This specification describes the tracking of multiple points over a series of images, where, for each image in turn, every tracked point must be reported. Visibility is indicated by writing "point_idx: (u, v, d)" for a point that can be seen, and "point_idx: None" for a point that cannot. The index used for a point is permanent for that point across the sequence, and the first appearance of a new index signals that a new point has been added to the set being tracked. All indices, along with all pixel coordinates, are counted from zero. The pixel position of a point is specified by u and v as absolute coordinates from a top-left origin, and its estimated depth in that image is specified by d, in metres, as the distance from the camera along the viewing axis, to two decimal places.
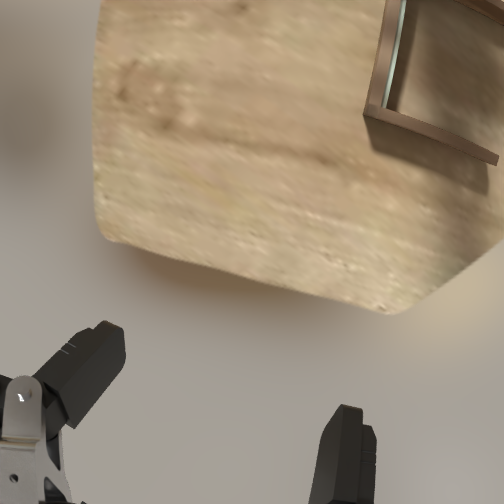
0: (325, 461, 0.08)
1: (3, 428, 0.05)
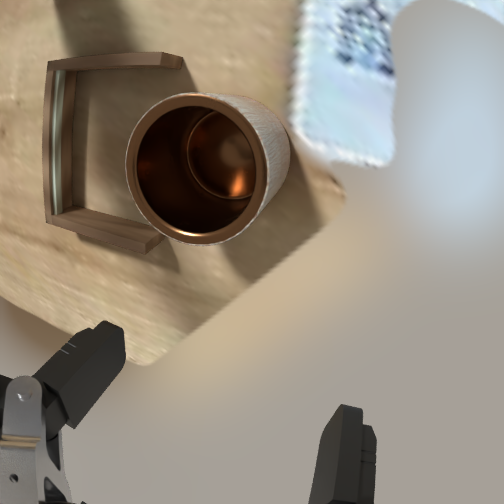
0: (325, 461, 0.08)
1: (3, 428, 0.05)
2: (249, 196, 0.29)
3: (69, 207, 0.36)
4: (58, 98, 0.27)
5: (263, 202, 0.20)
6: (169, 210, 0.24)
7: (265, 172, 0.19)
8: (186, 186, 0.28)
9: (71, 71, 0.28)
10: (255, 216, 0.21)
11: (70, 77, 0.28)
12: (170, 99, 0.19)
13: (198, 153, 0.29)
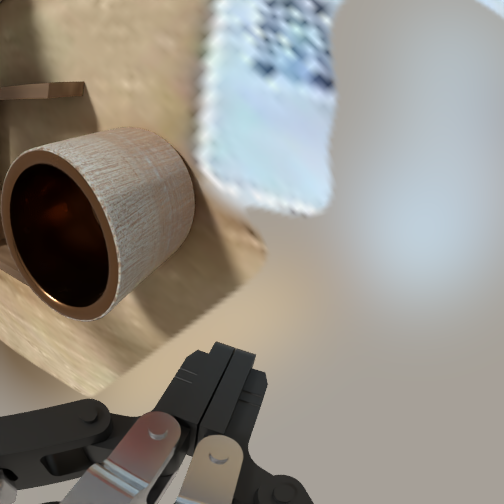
0: None
1: (112, 453, 0.06)
2: None
3: (2, 240, 0.30)
4: None
5: (119, 285, 0.15)
6: (51, 273, 0.19)
7: (114, 251, 0.14)
8: (84, 236, 0.23)
9: None
10: (114, 299, 0.16)
11: None
12: (22, 156, 0.14)
13: None
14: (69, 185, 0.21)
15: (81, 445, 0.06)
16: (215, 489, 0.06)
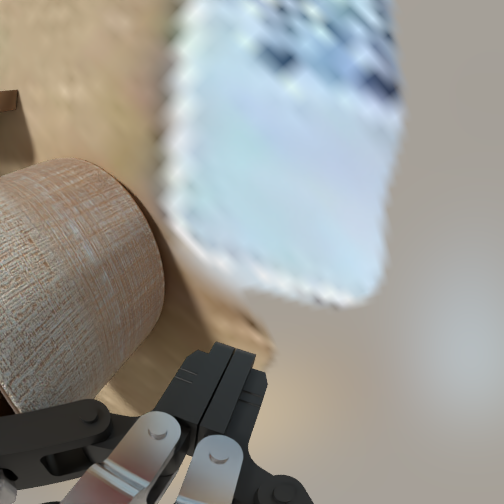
0: None
1: (112, 454, 0.06)
2: None
3: None
4: None
5: None
6: None
7: (17, 412, 0.06)
8: None
9: None
10: None
11: None
12: None
13: None
14: None
15: (81, 445, 0.06)
16: (215, 489, 0.06)
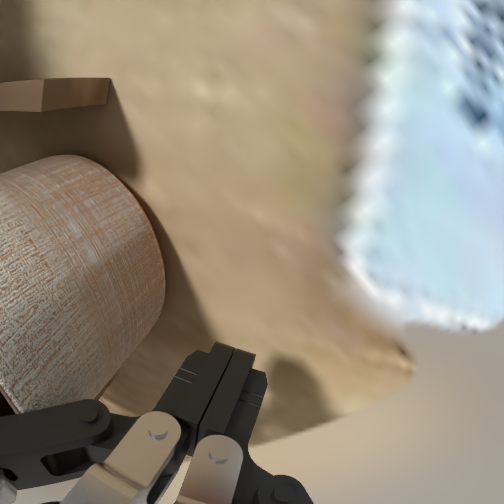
0: None
1: (112, 454, 0.06)
2: None
3: None
4: None
5: None
6: None
7: None
8: None
9: None
10: None
11: None
12: None
13: None
14: None
15: (81, 445, 0.06)
16: (215, 489, 0.06)
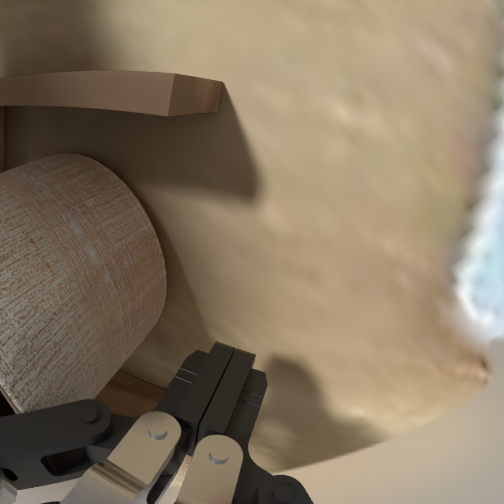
0: None
1: (112, 454, 0.06)
2: None
3: None
4: None
5: None
6: None
7: None
8: None
9: None
10: None
11: None
12: None
13: None
14: None
15: (81, 445, 0.06)
16: (215, 489, 0.06)
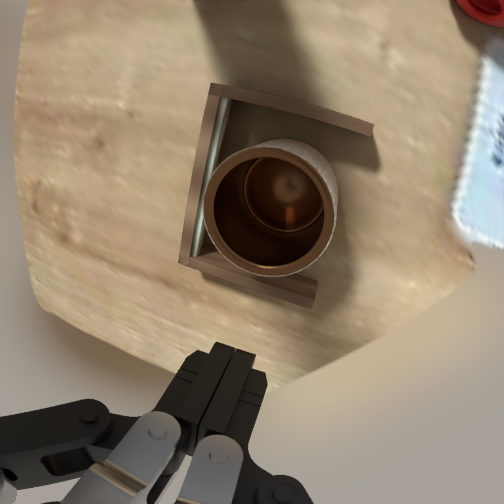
0: None
1: (112, 453, 0.06)
2: (297, 230, 0.34)
3: (202, 247, 0.37)
4: (220, 130, 0.29)
5: (326, 247, 0.25)
6: (236, 241, 0.28)
7: (332, 224, 0.24)
8: (244, 217, 0.32)
9: None
10: (317, 258, 0.25)
11: None
12: (256, 149, 0.23)
13: (256, 187, 0.33)
14: (240, 175, 0.31)
15: (81, 445, 0.06)
16: (215, 489, 0.06)
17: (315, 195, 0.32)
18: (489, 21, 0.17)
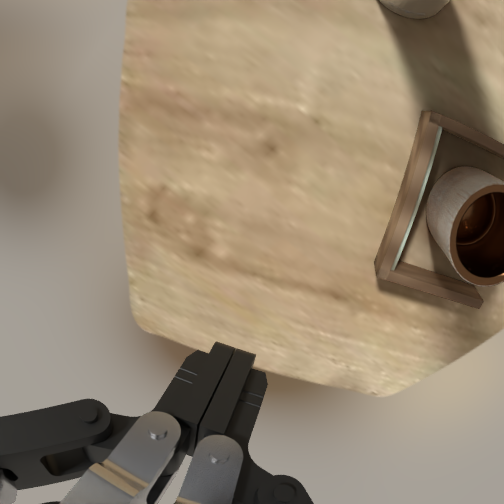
0: None
1: (112, 454, 0.06)
2: (470, 243, 0.33)
3: None
4: None
5: None
6: None
7: None
8: None
9: None
10: None
11: None
12: (497, 185, 0.22)
13: None
14: None
15: (81, 445, 0.06)
16: (215, 489, 0.06)
17: (488, 215, 0.31)
18: None
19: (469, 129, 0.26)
